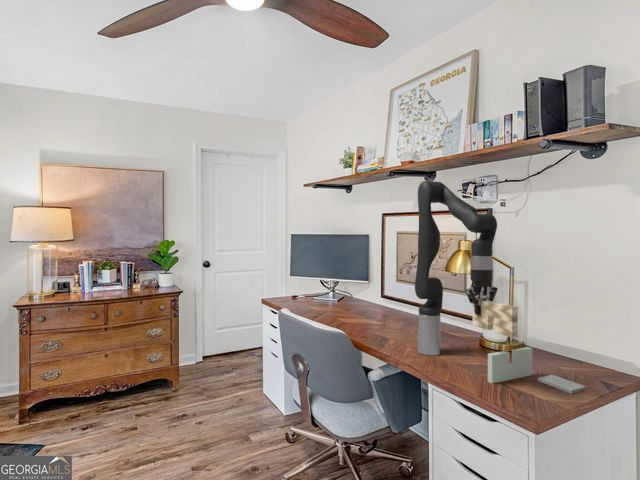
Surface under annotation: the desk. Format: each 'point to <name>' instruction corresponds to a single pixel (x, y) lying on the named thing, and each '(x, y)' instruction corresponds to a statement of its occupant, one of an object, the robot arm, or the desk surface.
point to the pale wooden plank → (497, 318)
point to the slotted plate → (510, 365)
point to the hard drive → (562, 384)
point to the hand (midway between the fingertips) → (481, 314)
